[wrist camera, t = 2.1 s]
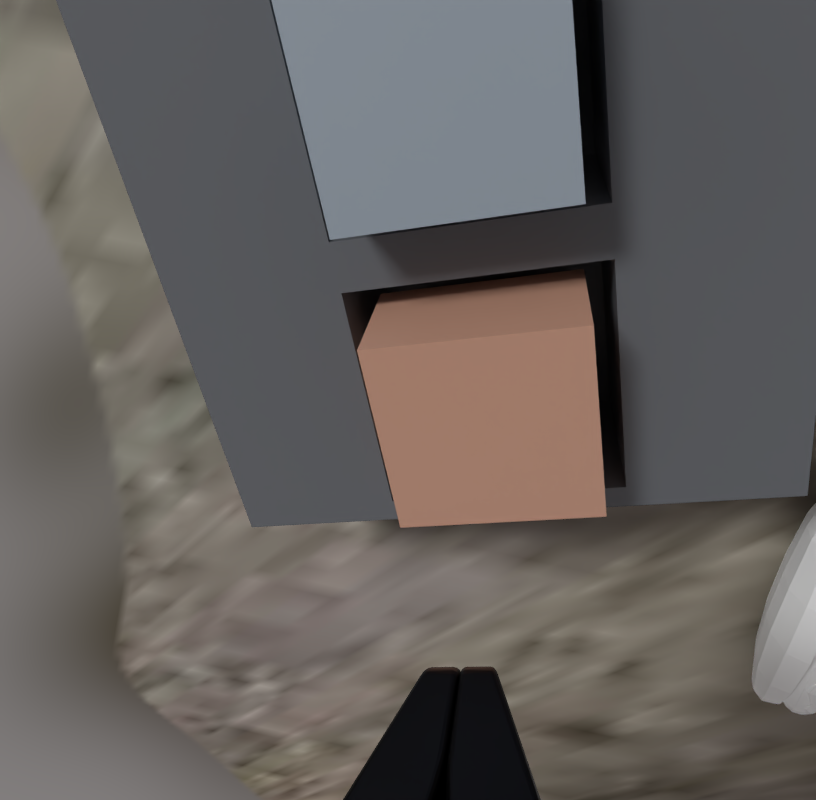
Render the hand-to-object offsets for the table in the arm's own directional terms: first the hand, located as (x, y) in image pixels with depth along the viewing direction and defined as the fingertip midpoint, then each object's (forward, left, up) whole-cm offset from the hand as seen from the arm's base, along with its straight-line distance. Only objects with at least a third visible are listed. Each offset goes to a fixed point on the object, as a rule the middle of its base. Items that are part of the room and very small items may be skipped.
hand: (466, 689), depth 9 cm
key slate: (0, -6, -8) cm, 10 cm away
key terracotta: (0, 0, -8) cm, 8 cm away
